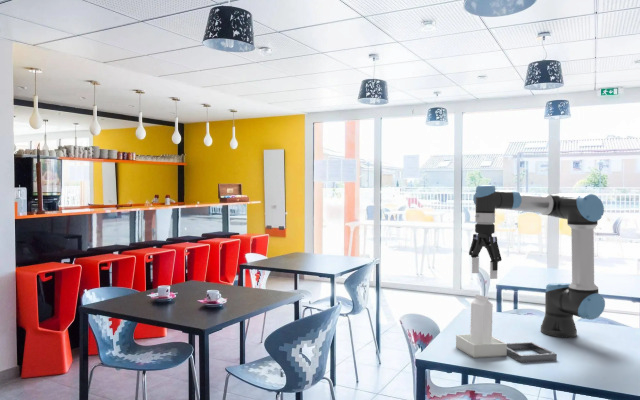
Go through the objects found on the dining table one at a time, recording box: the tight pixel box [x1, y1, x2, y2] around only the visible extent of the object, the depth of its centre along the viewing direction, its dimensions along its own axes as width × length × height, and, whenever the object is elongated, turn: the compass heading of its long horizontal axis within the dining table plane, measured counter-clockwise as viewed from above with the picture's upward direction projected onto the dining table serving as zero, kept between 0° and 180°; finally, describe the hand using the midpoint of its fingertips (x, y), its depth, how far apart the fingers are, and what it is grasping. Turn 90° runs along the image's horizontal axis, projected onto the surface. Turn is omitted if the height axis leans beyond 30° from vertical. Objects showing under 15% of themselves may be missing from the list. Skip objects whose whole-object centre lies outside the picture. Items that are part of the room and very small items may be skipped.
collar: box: [506, 341, 558, 363], centre depth 200 cm, size 16×16×2 cm
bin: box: [455, 333, 508, 359], centre depth 203 cm, size 14×14×5 cm
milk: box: [469, 294, 494, 345], centre depth 203 cm, size 6×6×22 cm
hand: (484, 275), depth 204 cm, fingers open, 13 cm apart
